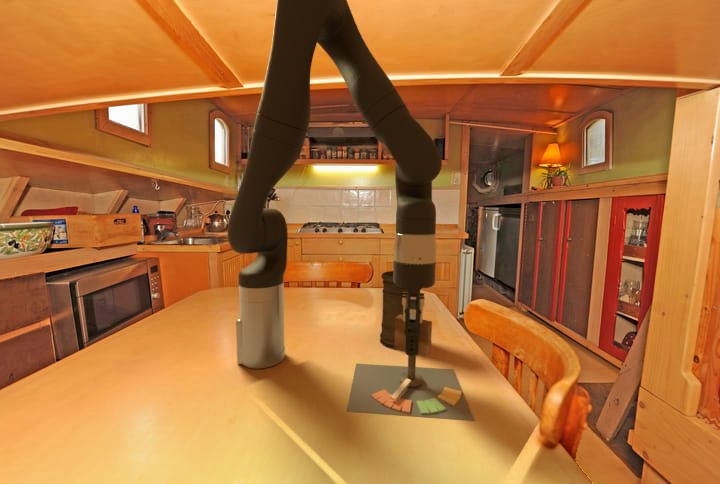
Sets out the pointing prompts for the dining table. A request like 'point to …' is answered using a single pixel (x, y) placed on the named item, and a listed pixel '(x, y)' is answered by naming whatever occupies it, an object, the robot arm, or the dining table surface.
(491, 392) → the dining table surface
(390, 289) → the container
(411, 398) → the dial board
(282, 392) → the dining table surface
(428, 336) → the peg knob
